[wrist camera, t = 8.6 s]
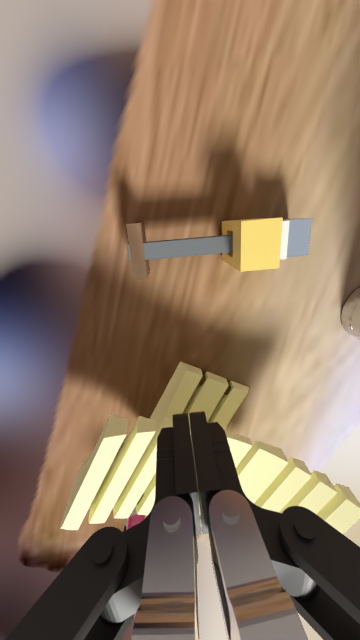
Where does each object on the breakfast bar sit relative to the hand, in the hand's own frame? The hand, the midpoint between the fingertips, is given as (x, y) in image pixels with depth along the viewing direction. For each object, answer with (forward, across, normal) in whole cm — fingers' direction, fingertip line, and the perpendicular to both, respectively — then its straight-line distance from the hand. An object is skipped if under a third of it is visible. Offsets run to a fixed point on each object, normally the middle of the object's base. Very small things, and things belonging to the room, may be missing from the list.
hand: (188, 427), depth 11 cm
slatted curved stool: (+25, -2, +22) cm, 34 cm away
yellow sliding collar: (+25, -9, -6) cm, 27 cm away
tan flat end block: (+25, +3, -6) cm, 26 cm away
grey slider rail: (+21, -6, -6) cm, 23 cm away
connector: (+25, -15, -6) cm, 30 cm away
